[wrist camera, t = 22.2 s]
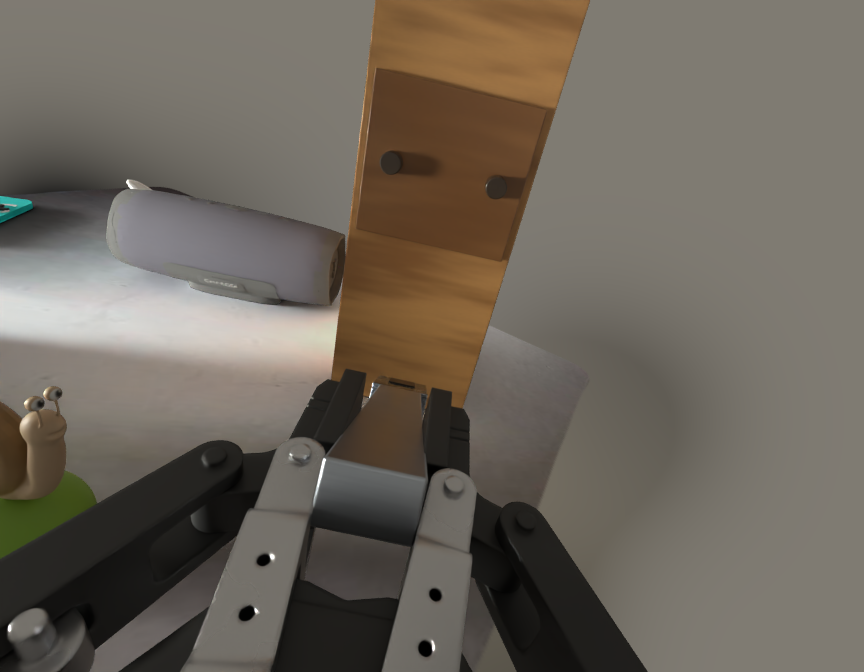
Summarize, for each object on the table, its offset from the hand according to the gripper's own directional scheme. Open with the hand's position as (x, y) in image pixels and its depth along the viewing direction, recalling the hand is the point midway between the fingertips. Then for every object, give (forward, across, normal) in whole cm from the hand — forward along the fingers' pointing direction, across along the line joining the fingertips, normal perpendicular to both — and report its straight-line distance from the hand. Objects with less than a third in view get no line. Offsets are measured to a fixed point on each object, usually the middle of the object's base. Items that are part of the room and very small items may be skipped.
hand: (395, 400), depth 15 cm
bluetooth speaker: (+32, -21, -15) cm, 42 cm away
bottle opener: (+3, 0, -4) cm, 5 cm away
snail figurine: (0, -15, -15) cm, 21 cm away
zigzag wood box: (+26, 0, -15) cm, 30 cm away
